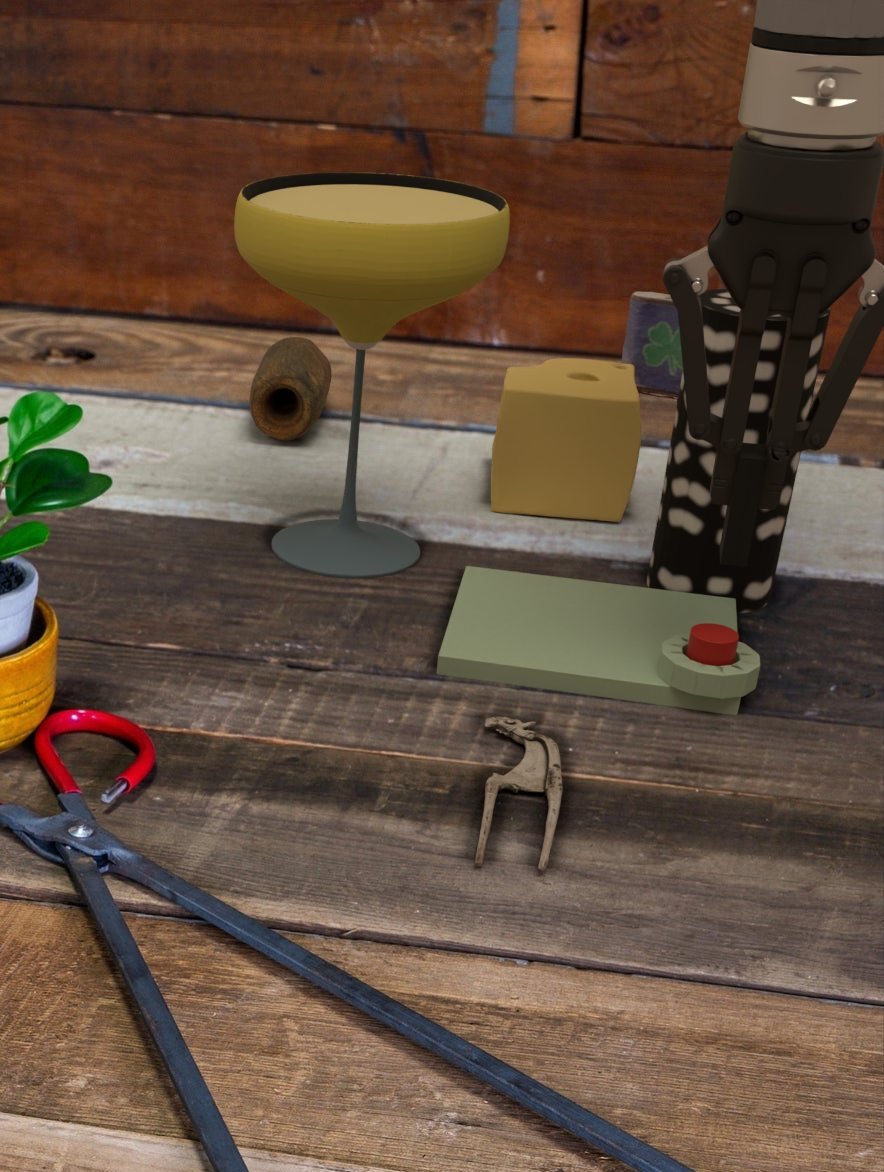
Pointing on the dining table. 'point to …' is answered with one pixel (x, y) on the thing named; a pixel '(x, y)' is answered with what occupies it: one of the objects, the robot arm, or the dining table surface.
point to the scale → (592, 640)
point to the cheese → (567, 440)
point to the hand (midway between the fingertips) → (733, 556)
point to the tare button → (712, 644)
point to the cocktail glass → (365, 301)
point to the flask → (654, 344)
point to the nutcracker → (525, 780)
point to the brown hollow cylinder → (290, 388)
